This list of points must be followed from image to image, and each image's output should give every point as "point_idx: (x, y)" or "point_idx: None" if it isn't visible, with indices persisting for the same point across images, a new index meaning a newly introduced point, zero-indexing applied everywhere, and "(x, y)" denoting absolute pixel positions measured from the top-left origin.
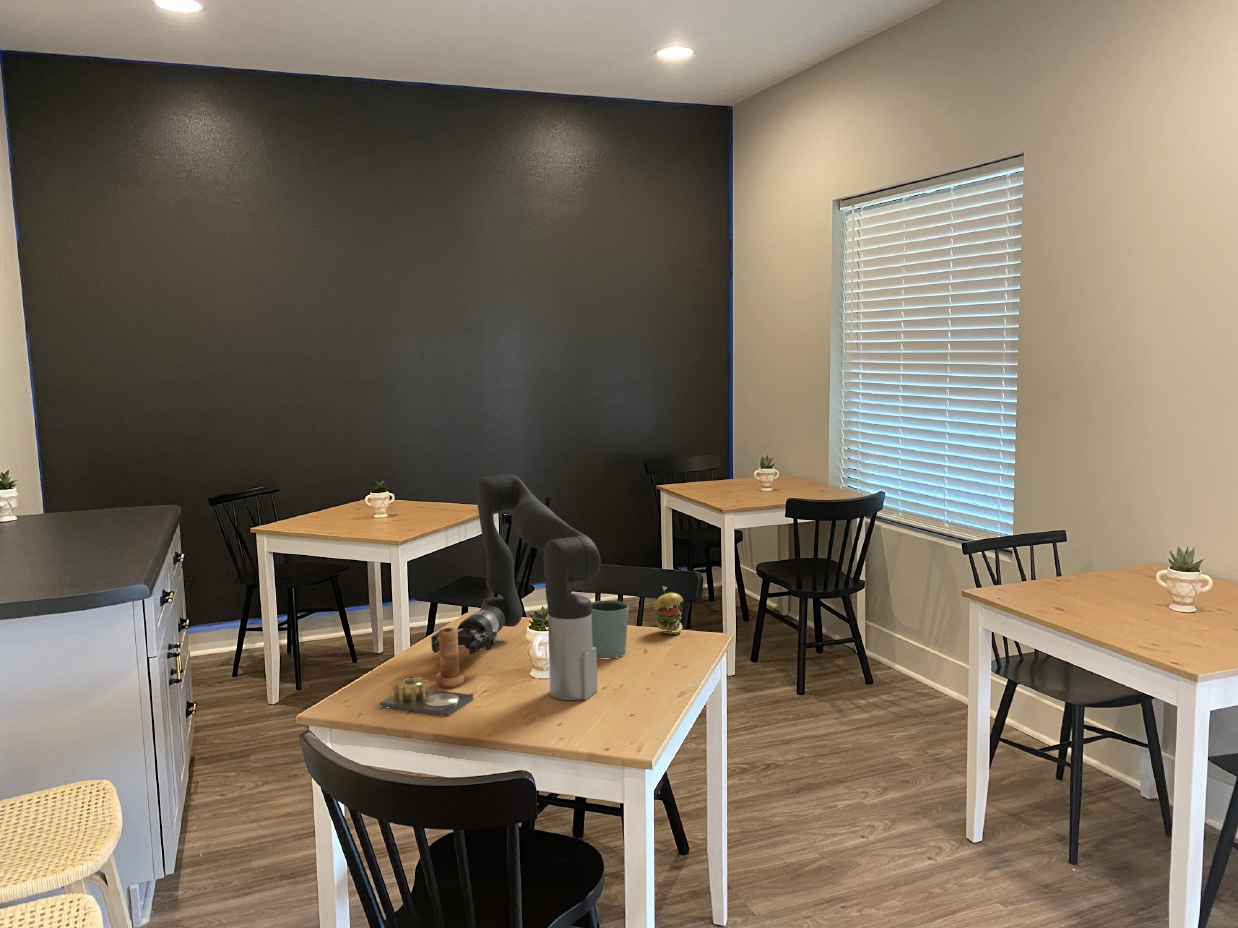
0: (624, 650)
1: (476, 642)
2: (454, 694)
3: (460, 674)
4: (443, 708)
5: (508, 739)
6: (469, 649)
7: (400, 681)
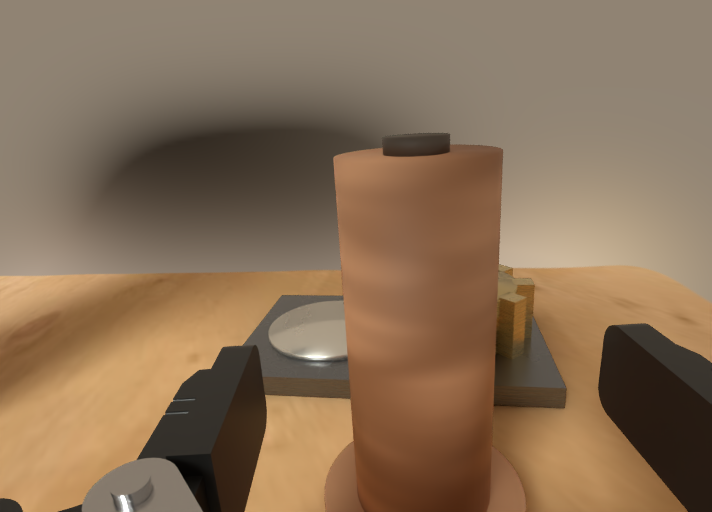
0: None
1: (188, 426)
2: (296, 353)
3: (351, 508)
4: (300, 303)
5: (119, 277)
6: (259, 375)
7: (510, 281)
